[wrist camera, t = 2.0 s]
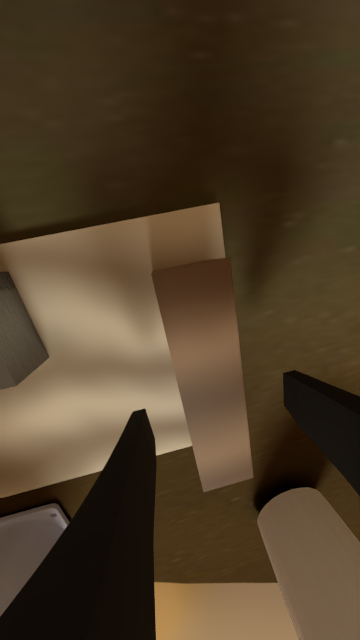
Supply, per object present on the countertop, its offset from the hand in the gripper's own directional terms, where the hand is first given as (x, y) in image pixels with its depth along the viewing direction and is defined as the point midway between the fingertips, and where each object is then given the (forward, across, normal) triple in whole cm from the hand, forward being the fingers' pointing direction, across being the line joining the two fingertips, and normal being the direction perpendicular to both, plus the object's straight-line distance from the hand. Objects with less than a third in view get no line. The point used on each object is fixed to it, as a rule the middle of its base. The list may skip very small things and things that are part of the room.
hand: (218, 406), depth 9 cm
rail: (+4, 0, 0) cm, 5 cm away
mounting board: (+5, +8, -1) cm, 9 cm away
